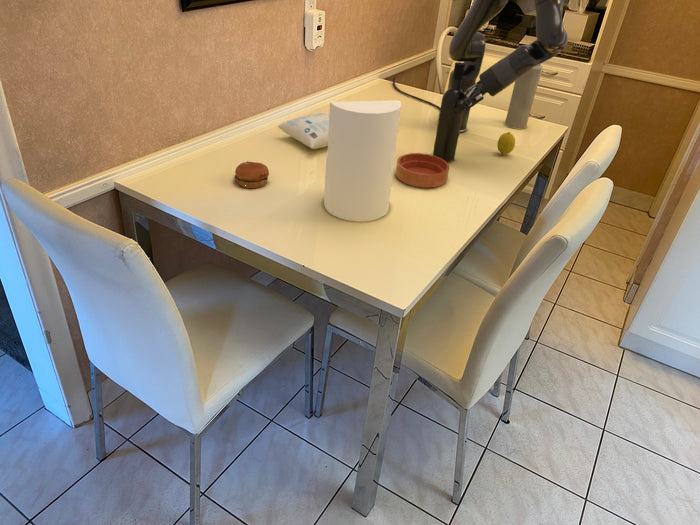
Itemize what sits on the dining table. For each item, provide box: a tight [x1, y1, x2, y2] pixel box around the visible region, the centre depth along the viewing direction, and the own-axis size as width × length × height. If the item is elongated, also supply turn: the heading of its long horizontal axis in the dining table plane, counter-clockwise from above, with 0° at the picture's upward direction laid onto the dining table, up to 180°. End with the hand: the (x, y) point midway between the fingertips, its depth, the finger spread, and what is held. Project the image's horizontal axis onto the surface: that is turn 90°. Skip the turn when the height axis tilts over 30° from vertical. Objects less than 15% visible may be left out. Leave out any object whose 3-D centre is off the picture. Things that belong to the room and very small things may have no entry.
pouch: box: [276, 112, 329, 150], centre depth 172 cm, size 8×19×20 cm
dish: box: [395, 152, 450, 188], centre depth 155 cm, size 15×15×4 cm
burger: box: [233, 161, 270, 189], centre depth 146 cm, size 10×9×5 cm
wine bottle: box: [432, 61, 465, 164], centre depth 161 cm, size 6×6×30 cm
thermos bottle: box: [504, 63, 543, 130], centre depth 193 cm, size 8×8×28 cm
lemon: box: [496, 131, 516, 156], centre depth 173 cm, size 6×6×8 cm
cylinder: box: [323, 99, 402, 223], centre depth 132 cm, size 17×17×28 cm
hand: (453, 109), depth 160 cm, fingers open, 8 cm apart
